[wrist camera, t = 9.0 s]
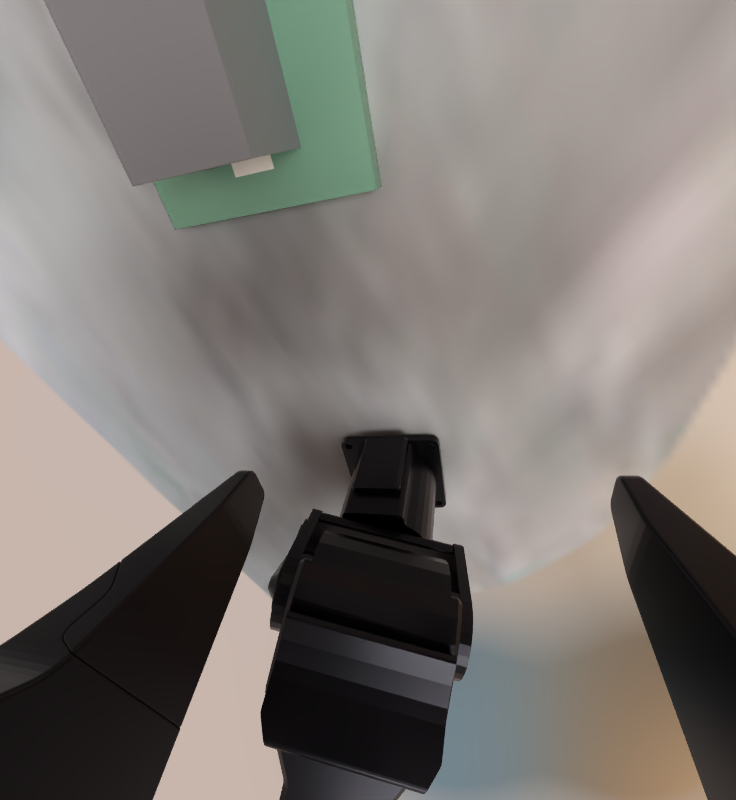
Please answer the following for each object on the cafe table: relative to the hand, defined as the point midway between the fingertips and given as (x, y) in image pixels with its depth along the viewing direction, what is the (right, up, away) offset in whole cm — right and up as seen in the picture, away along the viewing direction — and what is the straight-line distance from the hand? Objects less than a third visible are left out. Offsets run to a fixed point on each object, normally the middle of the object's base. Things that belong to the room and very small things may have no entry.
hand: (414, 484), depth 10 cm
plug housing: (-7, +15, +4) cm, 17 cm away
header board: (-6, +16, +5) cm, 18 cm away
